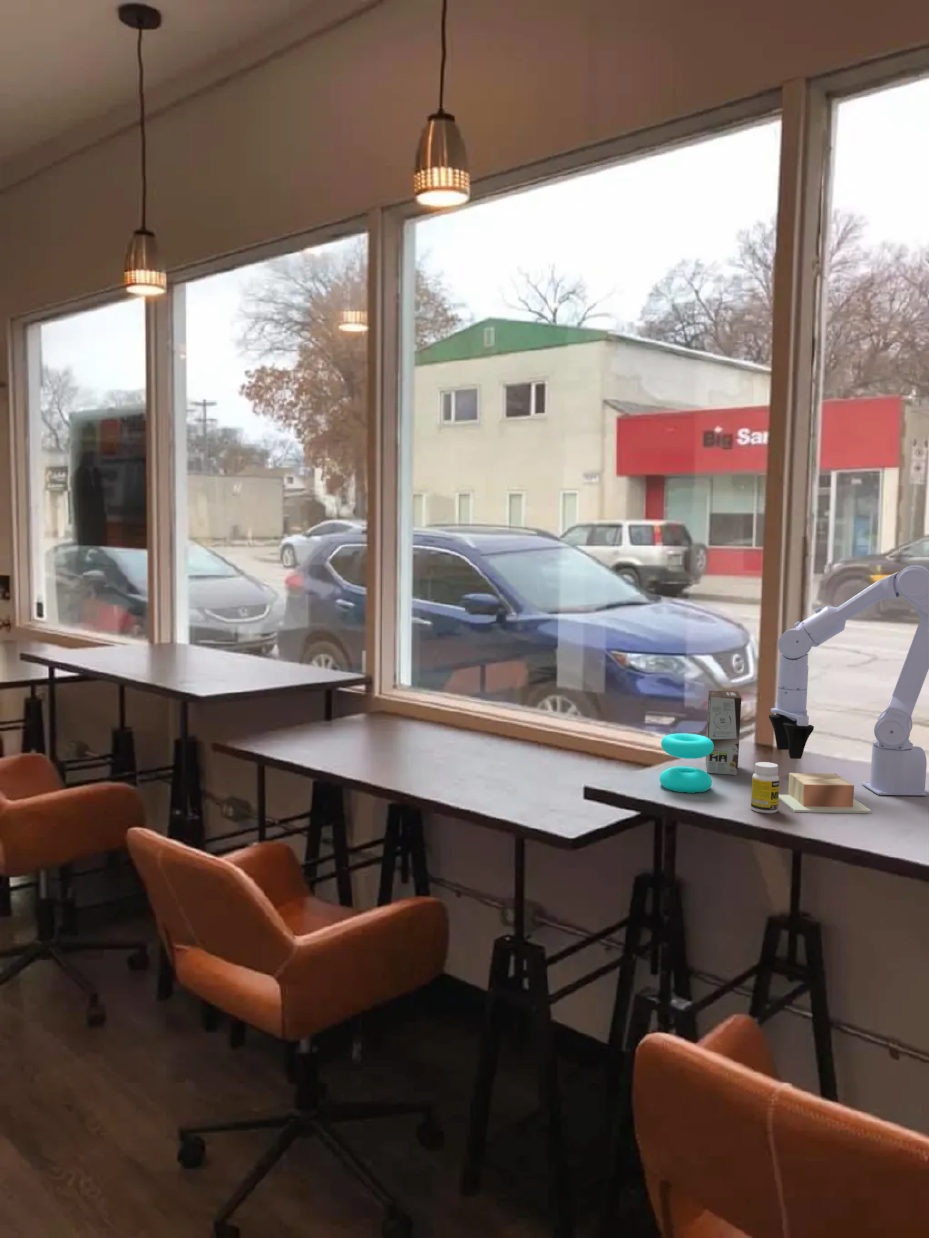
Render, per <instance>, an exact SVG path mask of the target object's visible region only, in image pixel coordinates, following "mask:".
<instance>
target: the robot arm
mask: <svg viewBox="0 0 929 1238" xmlns="http://www.w3.org/2000/svg"><path fill="white" fill-rule="evenodd" d="M900 596H901V597H902V598H904V600H906V601H908V602H909V604H911V606H912V608H913V609H914V611H915V613H916V614H917V616H918V617H919V622H918V624H917V627H916V630H915V633H914V636H913V638H912V640H911V643H910V646H909V649H908V652H907V654H906V657H905V661H904V663H903V664H902V668H901V671H900V673H899V677H898V678H897V682H896V684H895V687H894V689H893V693H892V694H891V698H890V701H888V705H887V708H886V709H885V710H884V711H882V712H881V714H880V715H879V717H878V719H877V721H876V723H875V725H874V728H873V733H874V734H873V735H874V737H875V738H876V739H874V740H872V746H871V747H872V749H871V763H870V780H869V781H862V783H861V785H863V786H864V787H865V788H867V789H868V790H870V791H872V792H873V793H875V794H876V795H879V796H921V797H923V796H927V792H926V780H927V779H926V778H927V765H928V764H927V763H928V762H927V756H926V753H925V750H924V749H923V748H922V747H921V746H919V745H918V746H914V744H913V743H912V742H911V740H910V736H911V731H912V729H913V721H912V720H913V719H912V715H913V712H914V709H915V707H916V704H917V701H918V700H919V696H920V694H921V691H922V688H923V685H924V683H925V679H926V677H927V675H928V672H929V568H928V567H927V566H925V565H922V564H911V565H909V566H907V567H905V568H903V569H902V570H900V571H896V572H895V573H892V574H890V575H887V576H885V577H883V578H880V579H879V580H877V581H875V582H874V583H872V584H871V585H869V586H868V587H866V588H865V589H863V590H862V591H860V592H859V593H856V595H854V596H853V597H851V598H850V599H848V600H847V601H845V602H844V603H842V604H841V605H838V607H834V606H831V605H830V606H829V605H826V606H824V607H821V606H819V607H817V608H816V609H815V610H814V612H815V613H813V614H811V615H810V616H808V617H807V618H806V619H804V620H803V621H801V622H800V620H799V621H798V620H797V622H795V623H793V624H794V627H795V628H791V629H787V630H785V631H784V632H783V633H782V634H781V636H780V637H779V639H778V641H777V642H778V643H777V648H778V650H779V664H778V673H777V675H778V676H777V691H776V693H777V695H776V702H774V707H772V708H770V712H771V713H772V714H768V718H769V720H770V722H771V725H772V728H773V732H774V738H775V744H776V748H777V750H779V751H780V750H781V751H782V750H783V751H788V755H789V758H790V759H792V760H797V759H798V760H801V759H802V757H803V754H804V750H805V747H806V744H807V741H808V740H809V737H810V736H811V734H812V732H813V731H814V730H815V729H814V728H815V726H814V725H812V724H809V722H810V721H809V720H810V717H809V715H808V710H807V704H808V702H807V701H808V681H809V679H808V678H809V665H808V663H809V652H810V651H811V649H812V647H819V646H820V645H822V644H824V643H825V642H827V641H829V640H830V639H832V638H833V637H835V636H837V635H838V634H840V633H842V632H843V631H845V627H846V622H847V620H849V619H851V618H852V617H854V616H856V615H858V614H859V613H861V612H863V611H865V610H866V609H868V608H869V607H871V606H873V605H875V604H877V603H878V602H880V601H882V600H893V599H894V600H895V599H898V598H899V597H900Z"/></svg>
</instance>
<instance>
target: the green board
mask: <svg viewBox="0 0 929 1238" xmlns="http://www.w3.org/2000/svg"><path fill="white" fill-rule="evenodd" d="M778 800H779V801H780V802H782V803H783V804H784V805H785V806H786V807H788V808H789V809H790V810H791V811H792V812H793V813H830V814H831V813H834V814H835V813H836V814H837V813H838V814H839V813H840V814H843V813H845V814H872V811H873V810H871V809H870V808H869V807H867V806H866V805H864V804H862V803H861V802H860V801H858V800H857V799H855V798H854V797H853V807H811V806H803V805H801V804H800V803H799V802H798V801H797V800H795V799H794V798H793V797H792V796H790V795H789V794H779V799H778Z"/></svg>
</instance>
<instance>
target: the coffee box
mask: <svg viewBox="0 0 929 1238" xmlns="http://www.w3.org/2000/svg"><path fill="white" fill-rule="evenodd" d="M707 694H708V695H707V714H706V716H707V717H706V737H707V738H709V739H710V740H711V741H712V742H713V745H714V748H713V751H712V752H711V753H710V754H709V755H708V756H706V757H705V768H706V772H707V773H708V774H717V775H718V774H719V775H729V776H730V775H732V776H737V775H738V769H739V753H740V734H741V732H740V731H741V718H742V717H741V713H742V697H741V695H740V693H739V691H737V690H736V691H735V690H708V691H707Z"/></svg>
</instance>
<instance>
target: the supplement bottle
mask: <svg viewBox="0 0 929 1238" xmlns="http://www.w3.org/2000/svg"><path fill="white" fill-rule="evenodd" d="M754 763H755V762H754ZM754 772H755V773H753V774H752V776H751V777H752V778H751V795H750V796H751V798H750V808H751V810H752V811H754V812H755V813H756V812H757V813H761V814H762V813H763V814H775V813H777V812H778V811H779V800H780V799H779V795H780V776H779V774H778V773H779V765H778V764H777V763H773V762H768V761H767V762H766V761H760V762H759V761H758V762H756V763H755V764H754Z"/></svg>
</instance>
